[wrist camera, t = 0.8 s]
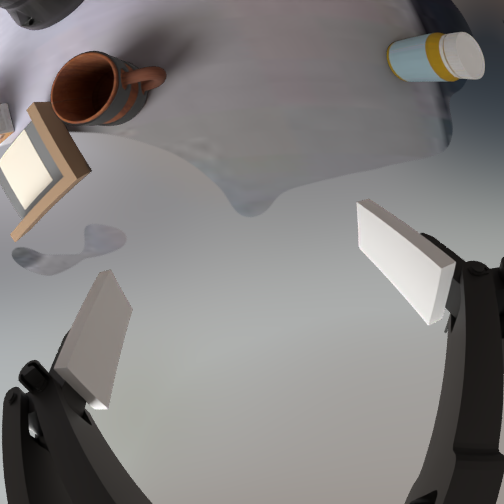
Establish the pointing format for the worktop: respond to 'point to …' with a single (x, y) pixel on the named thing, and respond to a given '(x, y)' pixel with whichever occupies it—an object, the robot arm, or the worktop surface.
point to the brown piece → (40, 167)
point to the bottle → (436, 58)
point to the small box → (5, 122)
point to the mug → (101, 89)
